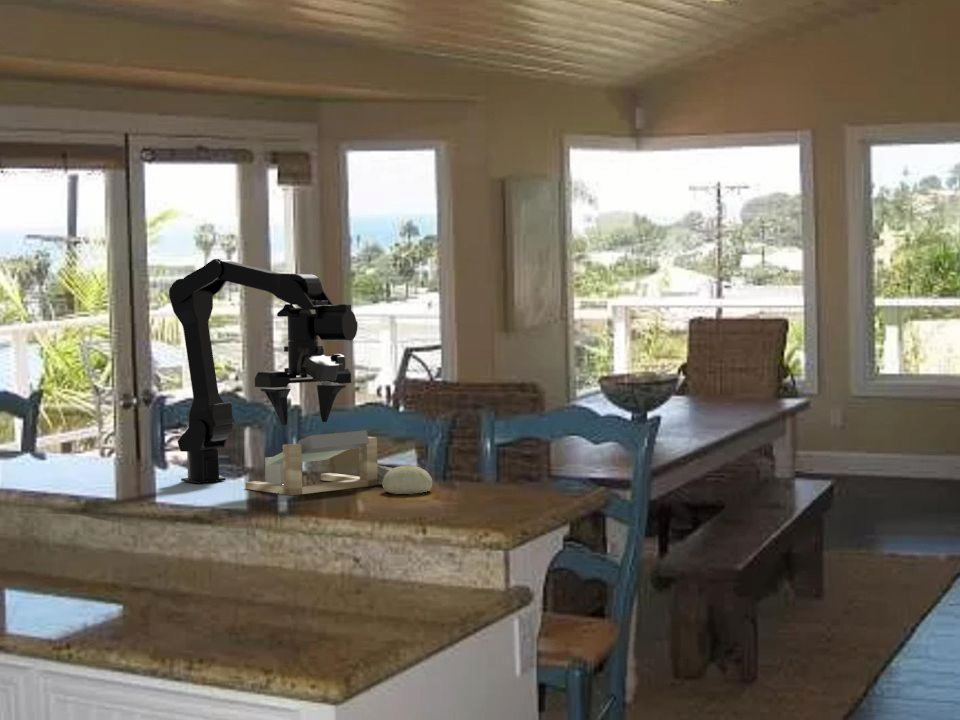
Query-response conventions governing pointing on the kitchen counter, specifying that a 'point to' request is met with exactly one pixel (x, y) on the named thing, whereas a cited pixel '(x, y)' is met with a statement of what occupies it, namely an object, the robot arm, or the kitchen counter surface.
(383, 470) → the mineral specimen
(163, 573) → the kitchen counter surface
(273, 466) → the off-white cube
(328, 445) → the trapdoor
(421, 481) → the sea urchin shell
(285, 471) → the frame
